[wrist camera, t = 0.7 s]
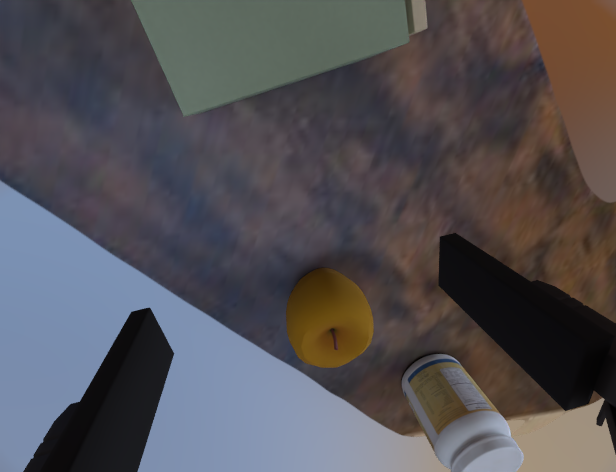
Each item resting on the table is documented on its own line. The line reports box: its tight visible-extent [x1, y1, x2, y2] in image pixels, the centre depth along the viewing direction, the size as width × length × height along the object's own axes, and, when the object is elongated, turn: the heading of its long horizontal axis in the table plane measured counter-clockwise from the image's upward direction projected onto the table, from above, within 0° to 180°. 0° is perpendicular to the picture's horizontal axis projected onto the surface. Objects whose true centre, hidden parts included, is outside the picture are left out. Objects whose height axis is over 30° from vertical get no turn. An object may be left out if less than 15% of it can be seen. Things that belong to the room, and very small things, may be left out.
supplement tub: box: [402, 354, 524, 472], centre depth 50 cm, size 12×12×17 cm
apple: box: [286, 268, 374, 368], centre depth 39 cm, size 11×11×13 cm
